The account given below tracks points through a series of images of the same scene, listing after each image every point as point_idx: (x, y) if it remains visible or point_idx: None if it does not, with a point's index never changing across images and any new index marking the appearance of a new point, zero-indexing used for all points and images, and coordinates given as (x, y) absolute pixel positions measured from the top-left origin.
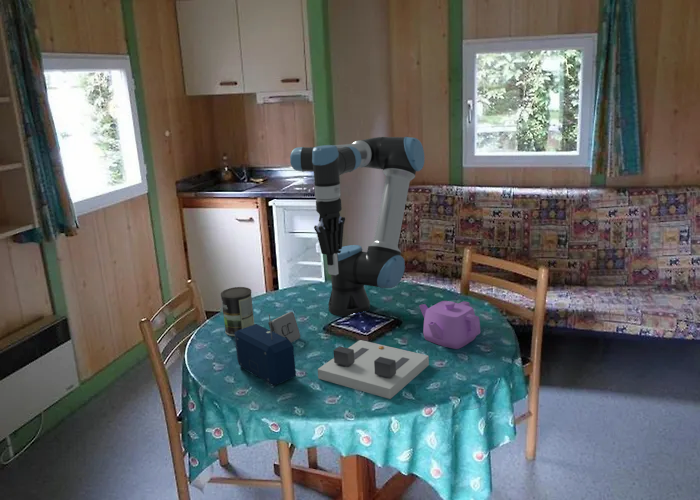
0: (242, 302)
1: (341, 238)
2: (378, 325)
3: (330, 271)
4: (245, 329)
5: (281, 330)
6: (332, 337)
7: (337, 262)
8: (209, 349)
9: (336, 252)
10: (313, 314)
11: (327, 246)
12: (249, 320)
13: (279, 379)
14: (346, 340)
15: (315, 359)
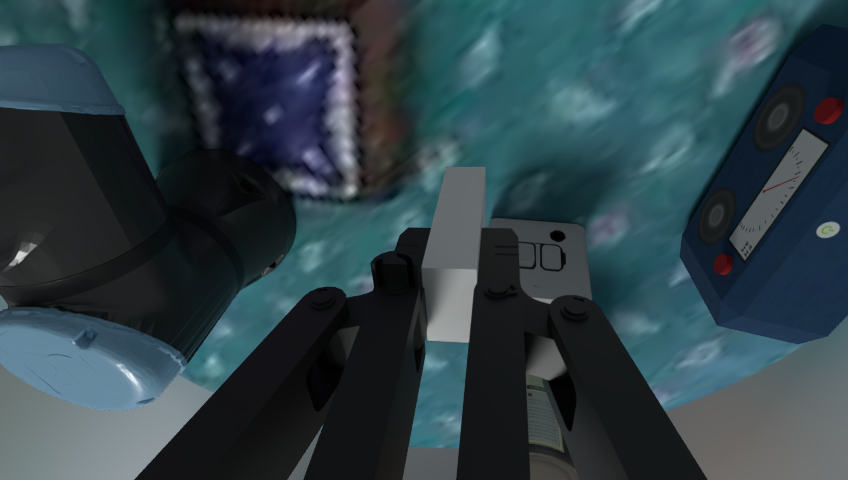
0: (552, 438)
1: (254, 382)
2: (256, 39)
3: (484, 222)
4: (812, 319)
5: (566, 263)
6: (433, 129)
7: (439, 215)
8: (663, 374)
9: (417, 283)
10: (332, 278)
11: (619, 387)
12: (529, 377)
13: None
14: (427, 68)
15: (618, 70)
